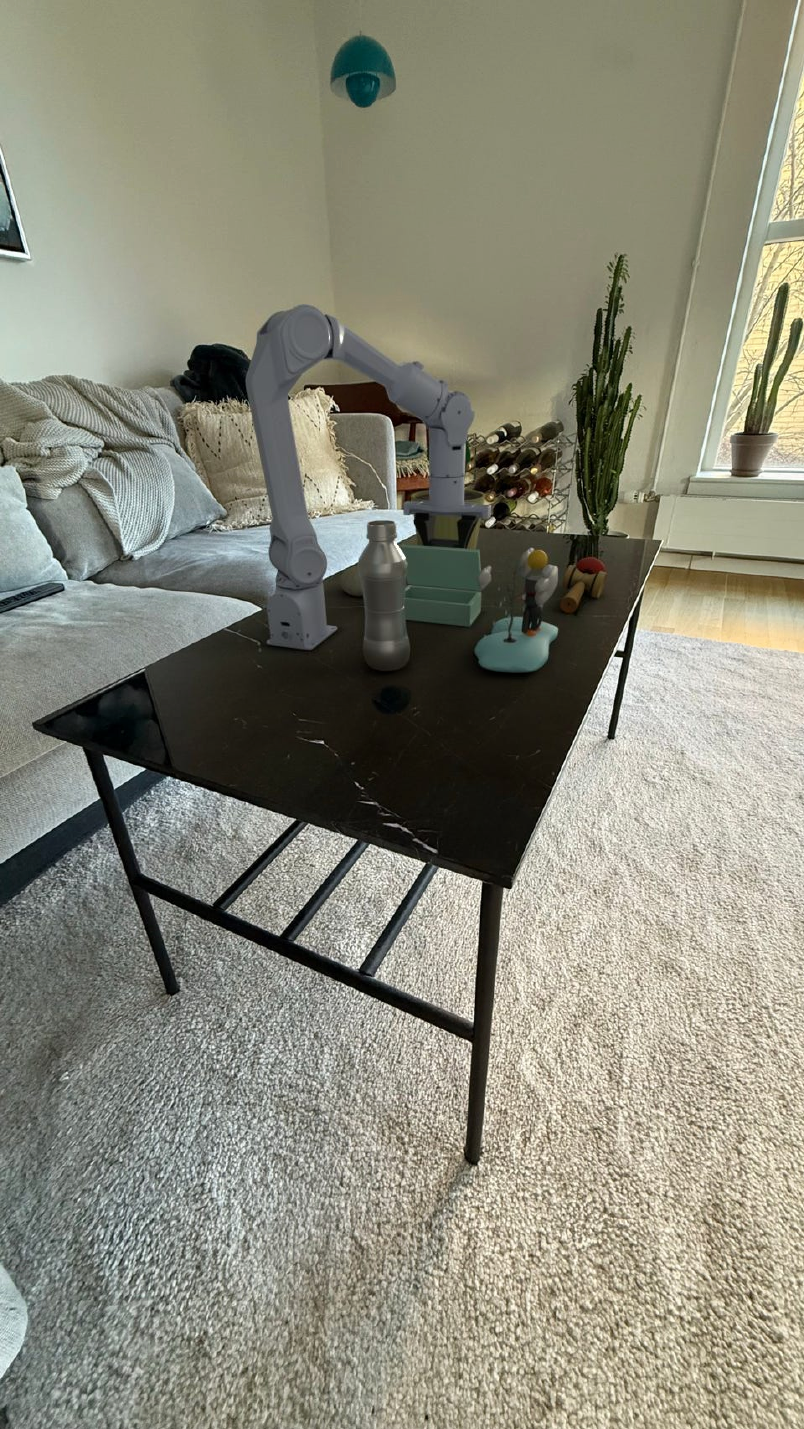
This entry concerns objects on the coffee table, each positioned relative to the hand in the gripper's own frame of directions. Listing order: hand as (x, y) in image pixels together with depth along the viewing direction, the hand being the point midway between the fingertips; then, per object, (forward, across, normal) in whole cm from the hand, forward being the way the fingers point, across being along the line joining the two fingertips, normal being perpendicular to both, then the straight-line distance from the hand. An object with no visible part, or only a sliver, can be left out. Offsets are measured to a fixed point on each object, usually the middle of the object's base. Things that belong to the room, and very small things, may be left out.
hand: (445, 559), depth 102 cm
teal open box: (+9, 0, +4) cm, 10 cm away
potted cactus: (+9, +8, -26) cm, 29 cm away
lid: (+1, 0, +2) cm, 3 cm away
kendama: (+9, -22, -12) cm, 27 cm away
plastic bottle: (+9, 0, +27) cm, 28 cm away
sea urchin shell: (+9, +18, -4) cm, 20 cm away
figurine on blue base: (+9, -16, +16) cm, 24 cm away
